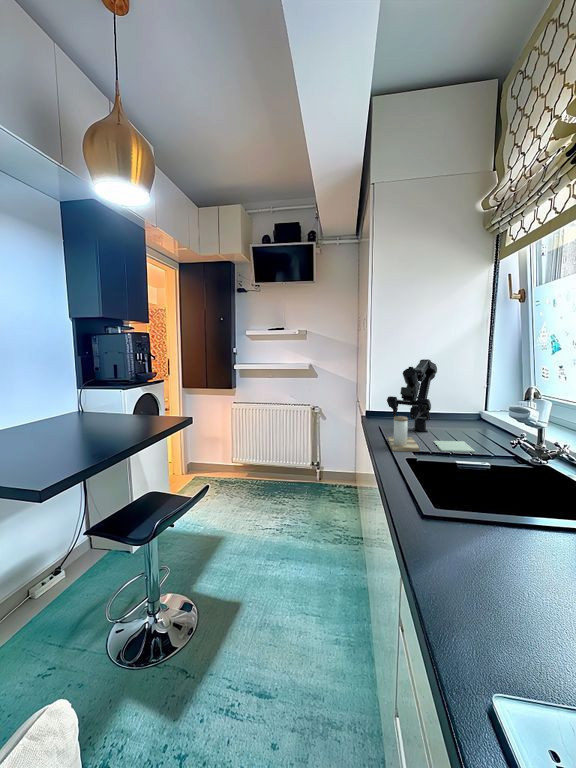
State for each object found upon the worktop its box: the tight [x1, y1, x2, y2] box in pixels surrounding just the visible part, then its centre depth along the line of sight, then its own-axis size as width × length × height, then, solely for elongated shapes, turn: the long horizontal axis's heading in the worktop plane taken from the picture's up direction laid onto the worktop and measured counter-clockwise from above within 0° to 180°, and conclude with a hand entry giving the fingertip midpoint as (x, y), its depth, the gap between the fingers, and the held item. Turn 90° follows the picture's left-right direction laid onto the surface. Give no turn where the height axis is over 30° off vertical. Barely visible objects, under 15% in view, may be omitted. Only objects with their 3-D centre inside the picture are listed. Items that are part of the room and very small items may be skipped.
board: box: [387, 436, 421, 453], centre depth 144 cm, size 16×11×2 cm
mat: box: [432, 440, 476, 453], centre depth 141 cm, size 13×13×1 cm
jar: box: [393, 415, 409, 446], centre depth 141 cm, size 6×6×12 cm
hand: (404, 418), depth 145 cm, fingers open, 9 cm apart
